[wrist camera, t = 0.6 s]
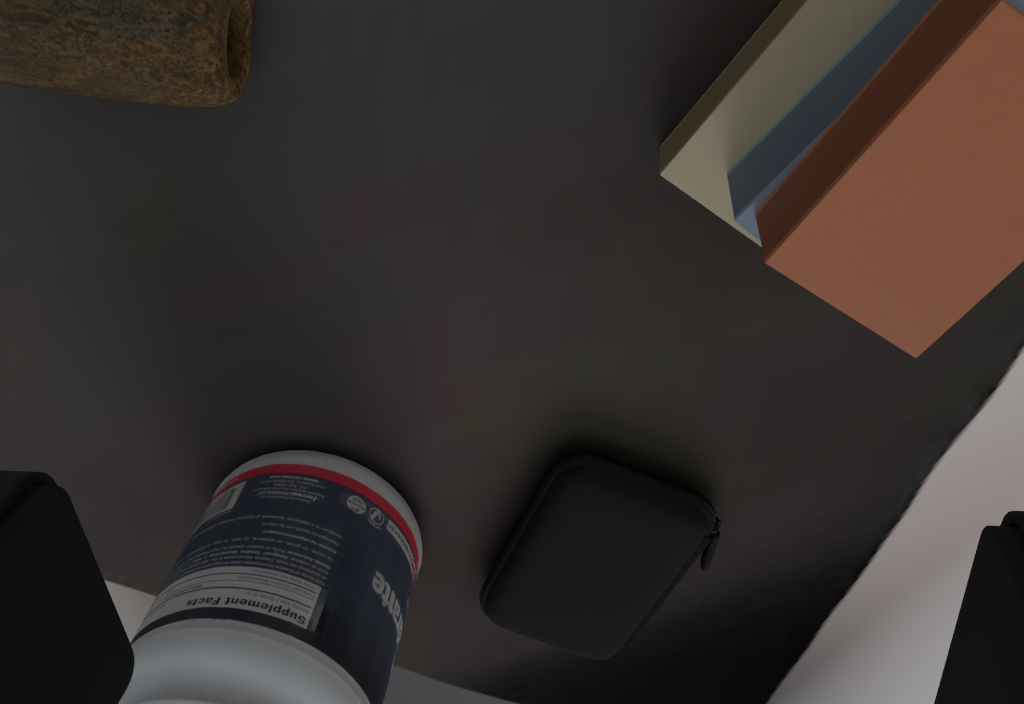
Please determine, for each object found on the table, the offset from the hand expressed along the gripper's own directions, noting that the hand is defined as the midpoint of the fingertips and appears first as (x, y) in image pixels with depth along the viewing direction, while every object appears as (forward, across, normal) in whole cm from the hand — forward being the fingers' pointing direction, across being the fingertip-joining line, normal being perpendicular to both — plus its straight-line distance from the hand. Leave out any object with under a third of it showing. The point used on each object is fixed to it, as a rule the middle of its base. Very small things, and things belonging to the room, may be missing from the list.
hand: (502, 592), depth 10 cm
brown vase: (+33, +22, 0) cm, 40 cm away
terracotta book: (+26, -11, +5) cm, 28 cm away
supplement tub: (+34, +18, +31) cm, 49 cm away
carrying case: (+34, +1, +32) cm, 46 cm away
